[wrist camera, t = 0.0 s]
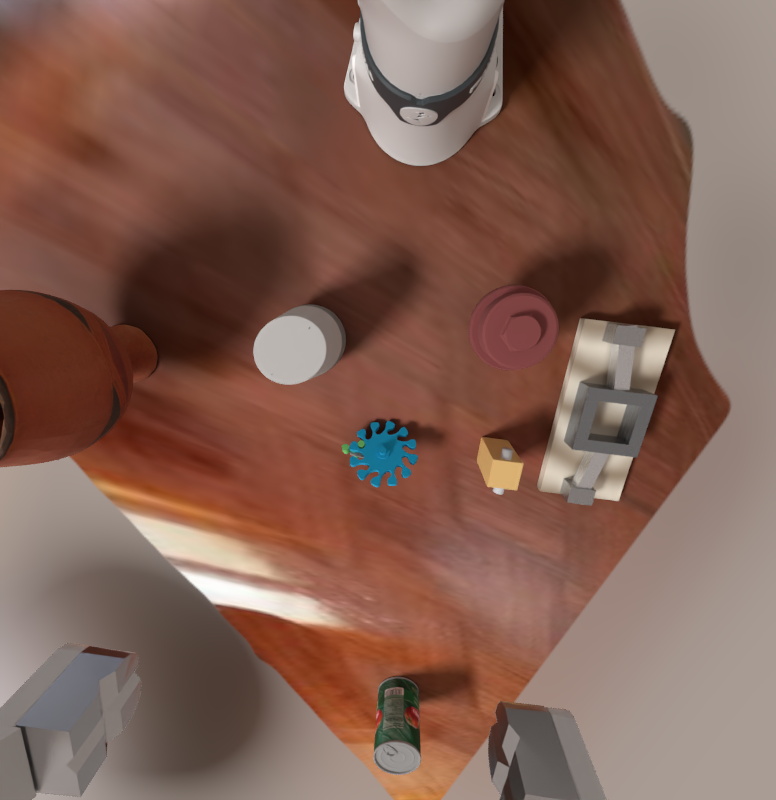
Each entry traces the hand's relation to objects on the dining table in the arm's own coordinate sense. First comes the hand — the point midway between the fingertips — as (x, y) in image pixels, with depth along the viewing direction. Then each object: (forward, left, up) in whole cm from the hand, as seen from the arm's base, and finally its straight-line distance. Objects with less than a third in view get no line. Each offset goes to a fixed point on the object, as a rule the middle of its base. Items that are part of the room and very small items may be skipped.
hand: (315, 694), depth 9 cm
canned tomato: (+65, +9, -48) cm, 82 cm away
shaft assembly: (+5, +31, -46) cm, 56 cm away
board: (+5, +31, -48) cm, 57 cm away
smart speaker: (-1, -11, -48) cm, 49 cm away
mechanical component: (-6, +14, -48) cm, 51 cm away
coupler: (+13, +17, -48) cm, 53 cm away
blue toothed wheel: (+14, 0, -48) cm, 50 cm away
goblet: (+5, -39, -48) cm, 62 cm away
